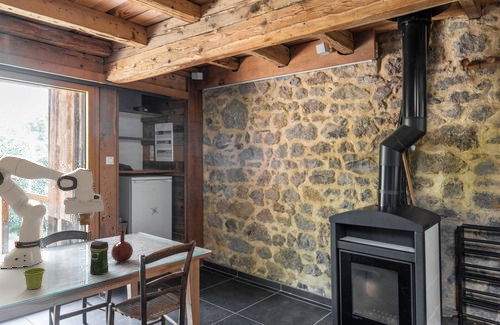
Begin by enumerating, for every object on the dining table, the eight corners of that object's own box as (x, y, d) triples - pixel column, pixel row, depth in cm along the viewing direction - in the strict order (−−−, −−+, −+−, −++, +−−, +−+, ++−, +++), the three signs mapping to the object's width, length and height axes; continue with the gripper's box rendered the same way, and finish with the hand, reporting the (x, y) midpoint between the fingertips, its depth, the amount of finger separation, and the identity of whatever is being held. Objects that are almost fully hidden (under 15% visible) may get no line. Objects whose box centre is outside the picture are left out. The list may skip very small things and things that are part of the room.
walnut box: (80, 225, 186) (80, 214, 186) (79, 223, 190) (79, 213, 190) (90, 224, 189) (90, 213, 189) (89, 222, 193) (89, 212, 193)
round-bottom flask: (137, 260, 218) (137, 230, 217) (122, 266, 206) (123, 234, 205) (121, 257, 223) (122, 228, 222) (106, 263, 211) (106, 232, 210)
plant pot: (48, 283, 176) (48, 267, 176) (37, 291, 166) (38, 274, 166) (30, 283, 175) (30, 267, 175) (19, 291, 166) (19, 273, 166)
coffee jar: (110, 271, 196) (111, 240, 196) (101, 276, 188) (101, 243, 188) (97, 269, 199) (97, 239, 199) (87, 274, 191) (87, 242, 191)
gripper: (64, 198, 181) (64, 223, 182) (104, 196, 192) (104, 219, 192) (63, 197, 186) (63, 221, 187) (102, 194, 197) (102, 217, 198)
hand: (84, 220), depth 190 cm, fingers closed on walnut box, 5 cm apart
